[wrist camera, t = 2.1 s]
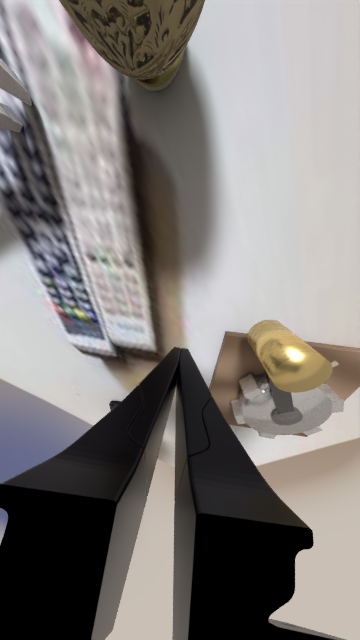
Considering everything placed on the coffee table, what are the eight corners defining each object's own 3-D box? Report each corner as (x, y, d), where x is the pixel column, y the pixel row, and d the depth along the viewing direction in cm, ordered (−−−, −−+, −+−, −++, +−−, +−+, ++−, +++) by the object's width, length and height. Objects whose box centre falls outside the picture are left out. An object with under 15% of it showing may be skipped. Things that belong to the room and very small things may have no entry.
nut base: (302, 430, 21) (307, 437, 20) (201, 414, 22) (201, 420, 21) (381, 351, 14) (392, 357, 13) (225, 331, 15) (227, 335, 14)
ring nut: (326, 413, 17) (383, 482, 12) (241, 424, 20) (257, 483, 15) (324, 290, 11) (443, 323, 6) (199, 331, 14) (202, 378, 9)
